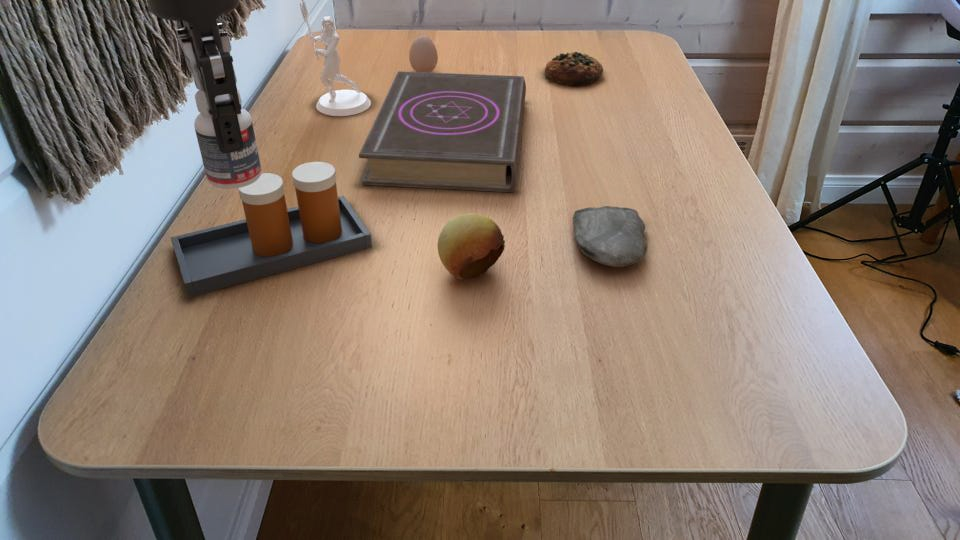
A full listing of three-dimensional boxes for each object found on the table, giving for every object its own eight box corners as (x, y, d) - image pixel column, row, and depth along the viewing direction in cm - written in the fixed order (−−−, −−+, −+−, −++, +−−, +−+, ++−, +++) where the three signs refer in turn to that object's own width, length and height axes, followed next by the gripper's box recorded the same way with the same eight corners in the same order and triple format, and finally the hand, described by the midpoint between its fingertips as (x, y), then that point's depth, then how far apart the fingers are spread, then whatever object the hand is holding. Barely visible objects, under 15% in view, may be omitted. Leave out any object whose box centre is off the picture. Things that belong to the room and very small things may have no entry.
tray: (188, 297, 85) (184, 283, 84) (174, 250, 93) (170, 237, 92) (372, 247, 94) (370, 234, 93) (345, 207, 101) (343, 195, 100)
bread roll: (565, 90, 133) (566, 62, 130) (532, 77, 141) (532, 50, 139) (614, 81, 137) (616, 53, 135) (580, 69, 146) (581, 43, 144)
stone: (571, 218, 100) (573, 197, 98) (641, 220, 99) (644, 199, 97) (574, 276, 89) (576, 254, 87) (652, 279, 88) (656, 257, 86)
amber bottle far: (308, 248, 93) (298, 186, 87) (297, 227, 96) (286, 167, 91) (348, 237, 95) (340, 176, 89) (335, 218, 98) (327, 157, 93)
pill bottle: (242, 194, 71) (223, 108, 65) (196, 185, 72) (174, 100, 67) (272, 168, 75) (256, 86, 69) (229, 160, 76) (210, 78, 71)
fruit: (513, 263, 91) (515, 208, 86) (483, 302, 85) (484, 245, 80) (458, 248, 94) (457, 194, 89) (426, 284, 88) (423, 228, 83)
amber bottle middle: (257, 261, 90) (243, 198, 85) (247, 240, 94) (233, 178, 89) (298, 250, 92) (287, 188, 87) (287, 230, 96) (276, 169, 90)
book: (399, 98, 130) (397, 71, 127) (525, 103, 129) (526, 76, 126) (361, 185, 106) (358, 154, 103) (516, 192, 105) (517, 161, 102)
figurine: (308, 98, 130) (293, -6, 119) (359, 88, 134) (349, -14, 123) (325, 120, 123) (310, 11, 112) (378, 109, 127) (369, 3, 116)
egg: (429, 81, 136) (428, 42, 132) (404, 76, 138) (402, 38, 134) (443, 71, 140) (442, 33, 136) (418, 67, 142) (417, 29, 138)
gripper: (126, -64, 64) (174, 115, 75) (144, -21, 54) (197, 179, 64) (214, -73, 67) (249, 101, 77) (247, -34, 57) (283, 161, 67)
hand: (225, 136), depth 71 cm, fingers closed on pill bottle, 5 cm apart
